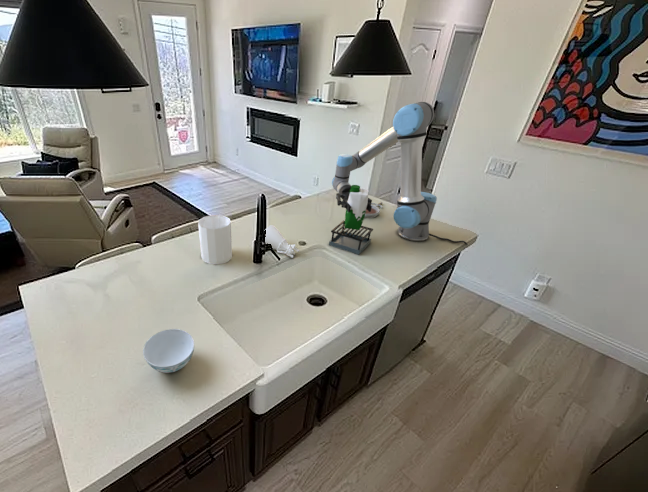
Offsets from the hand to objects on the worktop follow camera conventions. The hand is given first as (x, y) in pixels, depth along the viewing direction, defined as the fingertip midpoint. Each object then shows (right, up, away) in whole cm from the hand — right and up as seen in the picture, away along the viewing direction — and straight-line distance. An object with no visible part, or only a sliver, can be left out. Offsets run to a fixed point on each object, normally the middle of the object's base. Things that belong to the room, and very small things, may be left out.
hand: (360, 209), depth 151 cm
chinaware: (-74, -57, -48) cm, 106 cm away
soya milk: (0, -7, +10) cm, 12 cm away
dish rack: (0, -15, +15) cm, 21 cm away
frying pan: (+22, +8, +51) cm, 56 cm away
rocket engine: (-37, -19, +9) cm, 43 cm away
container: (-67, -22, +5) cm, 70 cm away
